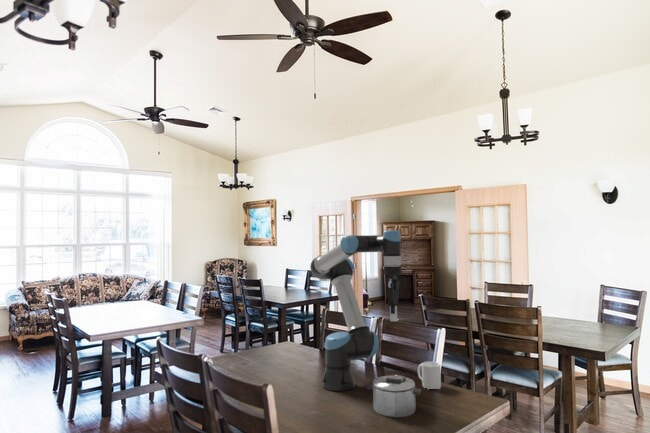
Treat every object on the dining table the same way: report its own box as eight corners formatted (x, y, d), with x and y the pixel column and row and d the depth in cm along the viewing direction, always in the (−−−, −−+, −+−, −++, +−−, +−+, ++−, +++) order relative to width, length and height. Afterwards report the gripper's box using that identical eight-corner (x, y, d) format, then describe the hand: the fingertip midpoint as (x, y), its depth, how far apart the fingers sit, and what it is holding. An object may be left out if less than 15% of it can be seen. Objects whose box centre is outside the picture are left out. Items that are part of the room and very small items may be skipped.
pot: (363, 412, 159) (362, 388, 160) (374, 397, 175) (374, 375, 175) (417, 420, 151) (417, 395, 152) (424, 403, 167) (423, 380, 168)
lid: (368, 388, 159) (368, 383, 159) (379, 375, 175) (379, 370, 175) (410, 393, 153) (410, 388, 153) (418, 379, 169) (418, 374, 169)
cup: (433, 391, 181) (432, 367, 182) (412, 384, 190) (411, 362, 191) (445, 387, 186) (444, 364, 186) (424, 380, 195) (423, 358, 196)
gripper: (397, 266, 171) (398, 324, 170) (404, 265, 183) (405, 318, 182) (379, 266, 174) (381, 323, 173) (387, 265, 186) (389, 317, 185)
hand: (393, 320), depth 177 cm, fingers closed
